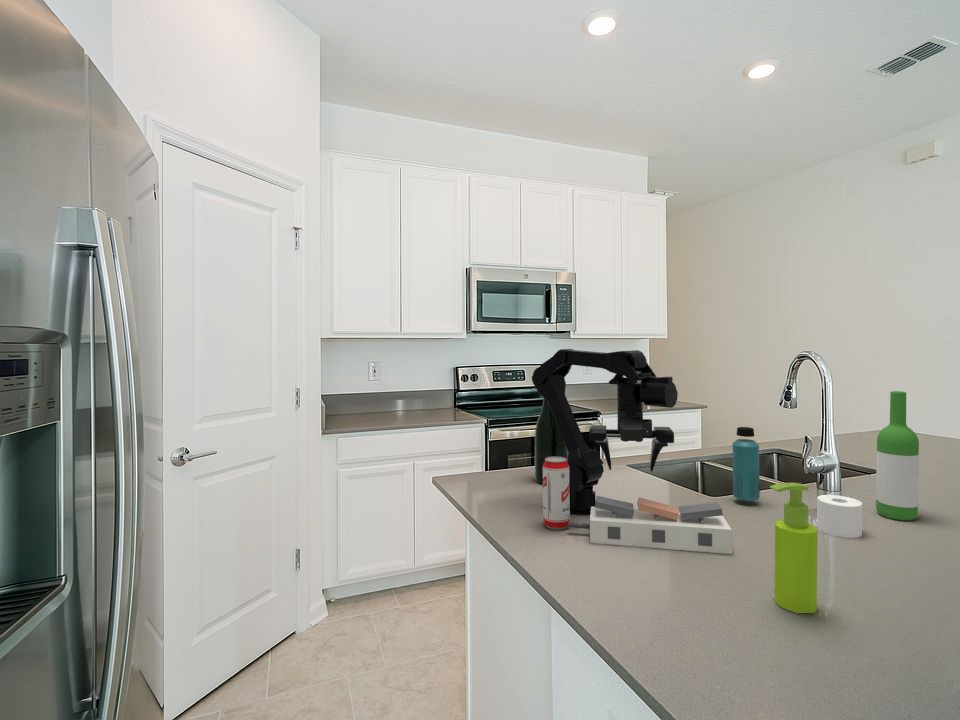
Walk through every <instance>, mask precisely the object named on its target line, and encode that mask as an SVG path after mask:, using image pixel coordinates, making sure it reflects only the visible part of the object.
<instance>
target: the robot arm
mask: <svg viewBox="0 0 960 720" xmlns="http://www.w3.org/2000/svg"><path fill="white" fill-rule="evenodd" d="M573 366H579V367H587V368H588V367H590V368H596V369H603V370H606V371H608V372H609V373H611V374H614V376H613V377H612V378H611V379H610V380H609V381H608V384H609V385H616V389H617V390H616V391H617V392H616V393H617V394H616V395H617V396H616V397H617V399H616V400H617V401H616V402H617V403H616V404H617V405H616V406H617V407H616V408H617V412H616V413H617V429H607V425H598V424H597V425H596V424H595V425H594V424H593V425H591V426H590V427H589V429H588V436H589V437H588V441H591V442H594V444H595V445H599V447H600V448H601V450H602V452H603V454H604V457H605V460H606V464H607V467H608V469H609V470H610V471H611V470H612V458H611V453H610V445H609V438H619V439H620V440H621V442H623V443H624V442H625V443H626V442H627V443H628V442H636V443H642V442H643V441H644V439H652V440H651V441H652V442H651V449H650V451H651V452H650V457H649V458H650V460H649V471H650V472H653V470H654V467H655V465H656V463H657V462H656V461H657V459H658V457H659V454H660V453H661V450H663V448H664V447H668V446H669V444H675V433H674V431H673V429H672V428H671V427H670V426H653V420H652V419H651V418H647V419H646V418H645V419H644V406H647V407H655V408H657V407H658V408H665V409H667V408H668V409H672V408H674V407H675V406H676V404H677V401H678V395H679V394H678V393H679V392H678V390H677V386H676V384H675V383H674V382H673V380H674V379H673V377H672V376H657V375H656V373H655V372H654V370H653V369H652V368H651V367H650V365H649V363H648V362H647V358H646V355H645V354H644V353H643V352H642V351H641V350H637V349H636V350H635V349H634V350H620V351H612V352H611V351H610V352H601V351H588V350H576V349H573V348H561V349H559V350H557V351H556V352H555V353H554V354H553V355H552V356H551V357H550V358H549V359H547V360H545V361H544V362H542V363H541V364H540V366H538V367H536V368H535V369H534V371H533V372H532V376H531V381H532V384H533V385H534V387H535V390H536V391H537V392H538V394H540V396H541V397H543V399H544V398H545V399H546V400H547V401H548V403H549V406H550V408H551V411H552V413H553V415H554V418H555V420H556V423H557V425H558V428H559V430H560V433H561V435H562V437H563V440H564V442H565V445H566V447H567V450H568V462H567V463H568V465H569V492H570V514H578V515H590V514H591V507H595V505H596V497H597V494H596V491H595V490H594V486H597V485H598V484H599V481H600V479H601V478H602V477H603V473H604V466H603V465H604V464H605V463H604V461H603V460H602V458H601V456H600V452H599V450H598V449H597V448H594V449H592V448H590V447H589V446H588V445H587V443H586V441H585V439H584V436H583V434H582V431H581V429H580V427H579V424H578V422H577V419H576V418H575V415H574V411H572V408H571V406H570V402H569V401H568V399H567V396H566V388H567V387H566V386H567V382H566V379H565V378H566V376H568V374H569V373H570V372H571V368H572V367H573Z"/></svg>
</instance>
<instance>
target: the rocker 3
mask: <svg viewBox="0 0 960 720" xmlns="http://www.w3.org/2000/svg"><path fill="white" fill-rule="evenodd" d="M678 512H679V513H680V515H681V518H682V520H688V519H696V518H705V517H714V516H723V517H724V513H723V509H722V507H721V506H720V504H719V502H718V501H715V502H706V503H699V504H688V505H681V506H678Z"/></svg>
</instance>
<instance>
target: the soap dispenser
mask: <svg viewBox="0 0 960 720" xmlns="http://www.w3.org/2000/svg"><path fill="white" fill-rule="evenodd" d="M769 488H770V489H771V490H774V491H775V492H778V493H781V492H784V491H789V500H787V501H785V502H784V503H783V519H779V520H776V521H775V522H774V602H775V604H776V603H777V604H778V605H779V607H780V606H781V607H782V609H783V608H785V609H788V610H790V611H789V612H791V611H793V612H792V613H794V612H798V613H797V614H799V613H812V614H814V612H815V613H816V612H817V611H816V610H818V531H819V529H818V528H817V526H815V525H813V524H810V523H809V506H808V504H806V503H805V502H803V491H809V486H808V485H806V484H803V483H799V482H780V483H775V484H772V485H770V486H769ZM777 604H776V605H777ZM778 605H777V606H778ZM781 607H780V608H781ZM785 609H784V610H785ZM788 610H787V611H788Z"/></svg>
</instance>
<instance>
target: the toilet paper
mask: <svg viewBox="0 0 960 720" xmlns="http://www.w3.org/2000/svg"><path fill="white" fill-rule="evenodd" d="M816 501H817V502H816V503H817V506H816V528H817V530H818V531H820V532H822V533H823V534H827V535H829V536H834V537H836V538H837V537H838V538H844V539H857V538H860V537H862V536H863V503H862V501H860V500H858V499H855V498H852V497H848V496H843V495H838V494H833V493H827V494H822V495H818V496H817V499H816Z"/></svg>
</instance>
